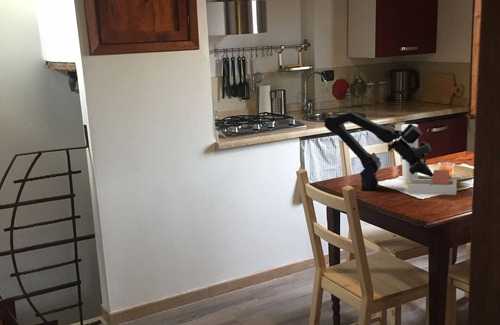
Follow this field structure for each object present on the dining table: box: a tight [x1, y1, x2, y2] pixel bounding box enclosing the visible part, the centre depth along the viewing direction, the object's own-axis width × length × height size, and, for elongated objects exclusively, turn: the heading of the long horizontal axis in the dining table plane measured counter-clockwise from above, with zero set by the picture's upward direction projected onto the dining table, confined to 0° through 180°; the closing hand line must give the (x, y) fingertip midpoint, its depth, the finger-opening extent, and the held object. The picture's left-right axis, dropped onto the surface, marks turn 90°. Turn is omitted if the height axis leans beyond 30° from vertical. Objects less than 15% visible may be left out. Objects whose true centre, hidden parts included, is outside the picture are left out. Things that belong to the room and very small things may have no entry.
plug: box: [432, 169, 450, 185], centre depth 219 cm, size 6×6×8 cm
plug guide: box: [408, 178, 458, 196], centre depth 221 cm, size 19×9×4 cm, turn 68°
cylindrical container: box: [401, 123, 420, 181], centre depth 240 cm, size 7×7×25 cm
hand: (432, 176), depth 220 cm, fingers closed, pressing on plug
